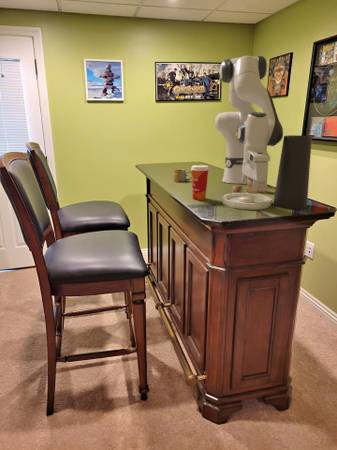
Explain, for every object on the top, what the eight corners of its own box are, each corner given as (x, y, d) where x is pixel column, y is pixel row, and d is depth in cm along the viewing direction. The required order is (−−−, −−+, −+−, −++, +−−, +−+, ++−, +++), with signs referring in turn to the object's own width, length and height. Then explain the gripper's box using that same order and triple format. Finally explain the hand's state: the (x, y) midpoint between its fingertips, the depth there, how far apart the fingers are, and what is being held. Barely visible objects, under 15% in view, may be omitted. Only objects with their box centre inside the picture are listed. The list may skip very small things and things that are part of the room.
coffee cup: (188, 196, 160) (189, 165, 155) (206, 196, 160) (207, 164, 156) (191, 200, 152) (192, 167, 147) (209, 200, 153) (210, 167, 148)
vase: (288, 210, 136) (297, 137, 127) (266, 203, 148) (273, 135, 139) (313, 207, 141) (323, 136, 132) (290, 200, 153) (298, 134, 144)
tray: (244, 196, 161) (245, 191, 161) (281, 204, 145) (281, 199, 144) (212, 202, 150) (212, 196, 149) (248, 212, 134) (248, 206, 133)
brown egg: (236, 195, 164) (237, 184, 162) (242, 196, 161) (243, 186, 159) (230, 196, 162) (230, 185, 160) (236, 197, 158) (237, 187, 157)
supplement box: (266, 191, 172) (268, 165, 168) (265, 193, 168) (268, 166, 164) (249, 190, 175) (251, 164, 171) (248, 191, 171) (250, 166, 167)
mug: (174, 182, 196) (174, 171, 194) (172, 180, 202) (172, 169, 200) (194, 182, 197) (194, 170, 195) (192, 180, 203) (192, 169, 201)
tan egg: (245, 191, 141) (246, 179, 140) (255, 191, 142) (256, 179, 140) (248, 193, 137) (249, 181, 136) (258, 193, 138) (259, 181, 136)
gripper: (239, 152, 144) (237, 184, 149) (255, 157, 125) (252, 193, 129) (253, 152, 145) (251, 184, 149) (272, 157, 126) (268, 193, 130)
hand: (252, 188), depth 139 cm, fingers closed on tan egg, 4 cm apart
